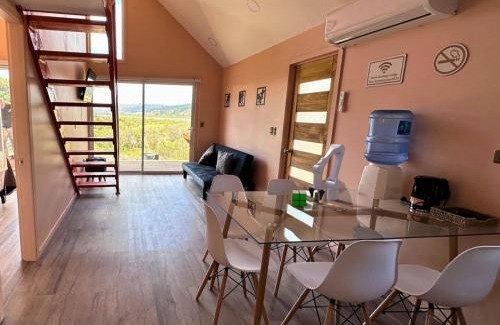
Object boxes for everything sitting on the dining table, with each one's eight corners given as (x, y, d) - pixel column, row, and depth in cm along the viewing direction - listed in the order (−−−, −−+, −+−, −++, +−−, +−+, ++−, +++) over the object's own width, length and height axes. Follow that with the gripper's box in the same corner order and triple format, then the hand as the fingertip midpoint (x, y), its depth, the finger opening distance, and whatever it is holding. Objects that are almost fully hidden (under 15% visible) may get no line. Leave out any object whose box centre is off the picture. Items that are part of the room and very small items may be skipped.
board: (317, 201, 229) (317, 200, 229) (346, 208, 211) (347, 207, 211) (309, 203, 222) (309, 202, 222) (339, 211, 204) (339, 210, 204)
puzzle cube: (304, 203, 223) (305, 190, 221) (306, 207, 213) (306, 193, 212) (291, 203, 224) (291, 190, 222) (291, 206, 214) (292, 193, 213)
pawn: (315, 201, 227) (315, 191, 226) (320, 202, 224) (320, 192, 222) (311, 202, 224) (312, 191, 223) (316, 203, 221) (317, 193, 220)
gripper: (305, 180, 224) (305, 197, 226) (322, 183, 213) (321, 201, 215) (311, 178, 229) (310, 196, 231) (327, 181, 218) (326, 200, 220)
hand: (316, 198), depth 223 cm, fingers open, 7 cm apart
